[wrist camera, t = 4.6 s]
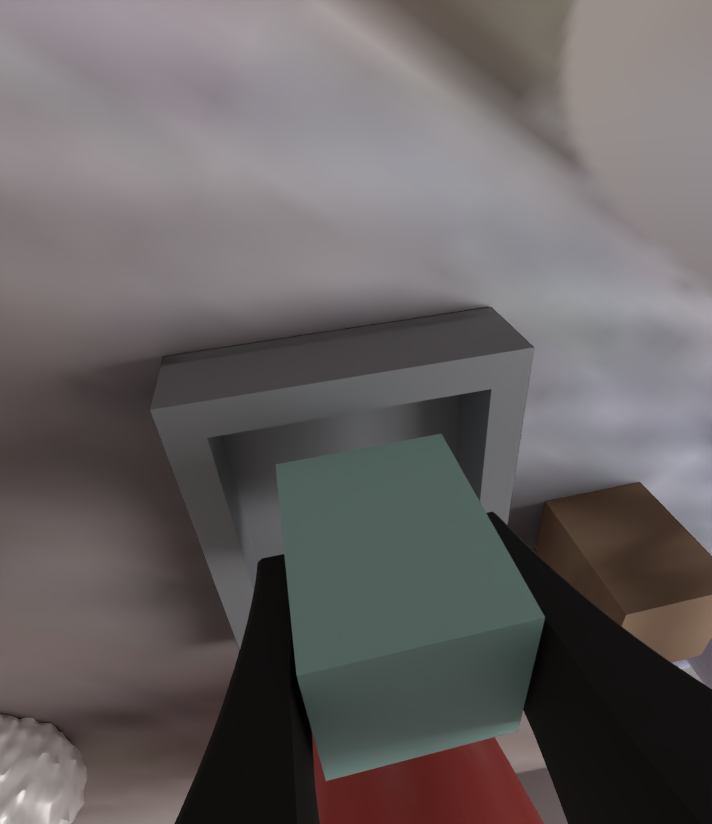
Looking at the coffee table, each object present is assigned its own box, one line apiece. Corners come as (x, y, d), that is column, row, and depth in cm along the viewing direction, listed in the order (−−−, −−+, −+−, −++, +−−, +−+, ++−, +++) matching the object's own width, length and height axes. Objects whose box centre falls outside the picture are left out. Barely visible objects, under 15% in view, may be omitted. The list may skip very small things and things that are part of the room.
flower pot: (316, 626, 21) (365, 960, 13) (523, 638, 25) (655, 900, 17) (248, 750, 26) (254, 1047, 18) (430, 744, 30) (499, 985, 22)
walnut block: (639, 481, 20) (742, 587, 16) (616, 548, 22) (700, 655, 18) (545, 500, 19) (626, 615, 15) (531, 566, 22) (599, 680, 18)
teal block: (438, 544, 14) (518, 730, 10) (299, 573, 14) (325, 781, 10) (441, 433, 12) (545, 616, 8) (275, 464, 12) (296, 675, 8)
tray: (491, 307, 14) (534, 347, 12) (465, 590, 22) (489, 644, 20) (163, 356, 13) (149, 410, 11) (255, 636, 21) (257, 698, 19)
